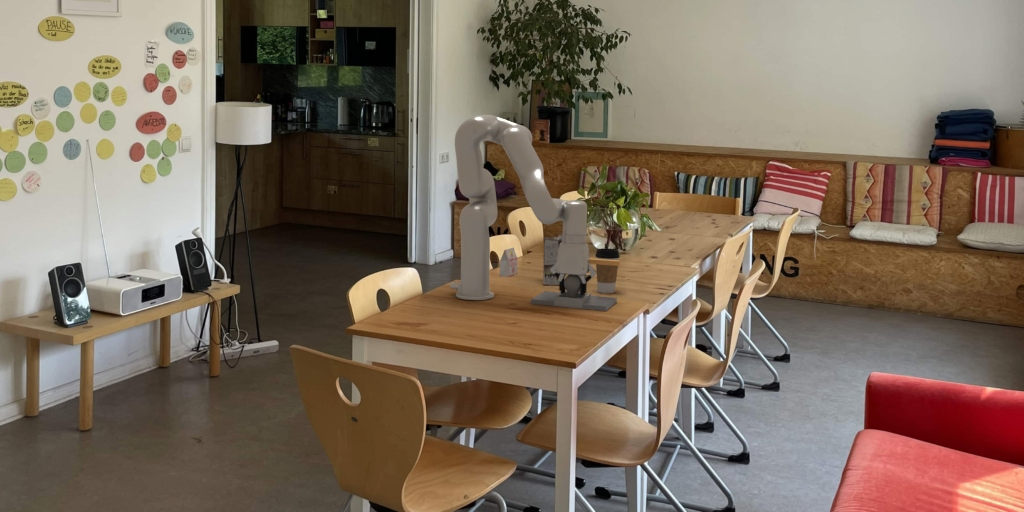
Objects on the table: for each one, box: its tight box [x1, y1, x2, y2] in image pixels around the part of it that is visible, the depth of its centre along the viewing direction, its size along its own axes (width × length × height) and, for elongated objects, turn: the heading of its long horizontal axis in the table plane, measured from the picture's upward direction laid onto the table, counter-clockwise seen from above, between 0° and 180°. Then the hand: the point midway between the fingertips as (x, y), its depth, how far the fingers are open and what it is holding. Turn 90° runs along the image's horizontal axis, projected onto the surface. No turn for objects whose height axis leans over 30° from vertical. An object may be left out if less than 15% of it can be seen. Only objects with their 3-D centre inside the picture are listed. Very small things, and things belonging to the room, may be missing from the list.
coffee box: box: [542, 236, 563, 286], centre depth 341 cm, size 9×6×16 cm
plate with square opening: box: [530, 275, 618, 312], centre depth 309 cm, size 25×14×12 cm, turn 70°
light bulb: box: [564, 274, 582, 298], centre depth 307 cm, size 6×6×10 cm
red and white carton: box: [499, 247, 519, 278], centre depth 354 cm, size 4×7×10 cm, turn 151°
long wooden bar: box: [590, 257, 621, 267], centre depth 312 cm, size 3×14×2 cm, turn 71°
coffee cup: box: [595, 247, 620, 294], centre depth 328 cm, size 8×8×15 cm
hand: (572, 293), depth 308 cm, fingers closed on light bulb, 6 cm apart
